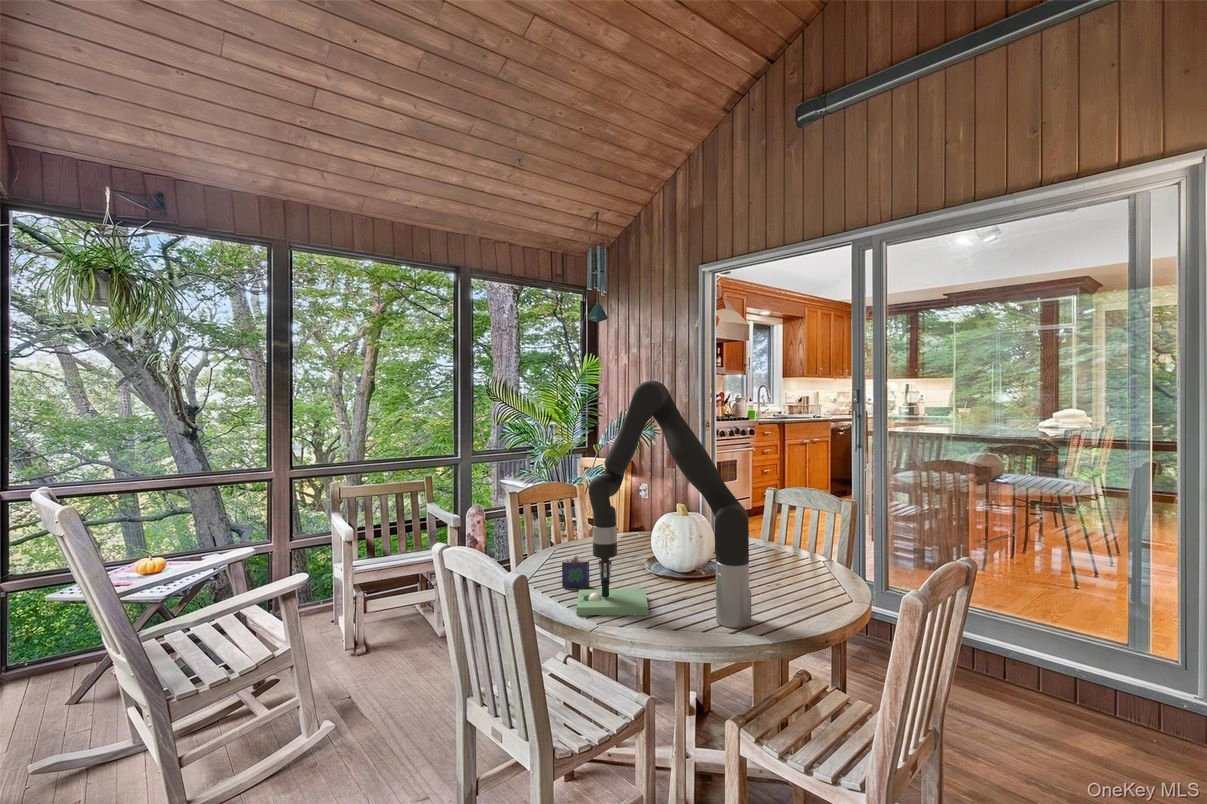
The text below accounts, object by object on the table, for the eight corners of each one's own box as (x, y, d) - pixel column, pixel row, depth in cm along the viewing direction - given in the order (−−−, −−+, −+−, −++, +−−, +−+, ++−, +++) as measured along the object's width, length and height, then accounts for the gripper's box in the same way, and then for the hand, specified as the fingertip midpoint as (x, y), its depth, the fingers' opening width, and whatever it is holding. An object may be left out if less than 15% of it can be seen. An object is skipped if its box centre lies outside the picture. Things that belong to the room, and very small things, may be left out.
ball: (586, 594, 175) (591, 605, 174) (586, 598, 171) (591, 610, 170) (598, 588, 175) (603, 600, 174) (598, 592, 171) (603, 604, 170)
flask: (589, 585, 191) (588, 554, 191) (589, 588, 189) (589, 556, 188) (562, 586, 191) (561, 555, 190) (562, 589, 188) (561, 557, 188)
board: (644, 596, 180) (644, 588, 180) (648, 615, 165) (648, 606, 165) (579, 597, 180) (578, 589, 180) (576, 615, 165) (576, 607, 165)
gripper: (617, 545, 166) (618, 604, 166) (616, 534, 179) (617, 588, 179) (592, 546, 166) (592, 604, 166) (593, 534, 179) (593, 589, 179)
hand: (605, 596), depth 173 cm, fingers closed
